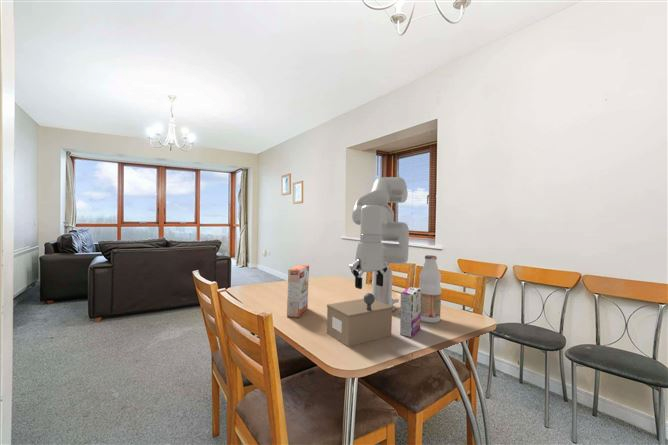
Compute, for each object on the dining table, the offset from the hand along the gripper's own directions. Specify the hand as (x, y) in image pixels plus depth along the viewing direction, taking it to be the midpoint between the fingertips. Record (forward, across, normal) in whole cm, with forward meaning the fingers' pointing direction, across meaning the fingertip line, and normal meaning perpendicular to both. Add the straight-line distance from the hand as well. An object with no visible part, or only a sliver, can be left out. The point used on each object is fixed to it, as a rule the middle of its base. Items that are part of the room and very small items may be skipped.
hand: (369, 286), depth 109 cm
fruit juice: (+19, -38, -4) cm, 42 cm away
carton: (+19, -1, -6) cm, 20 cm away
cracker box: (+19, +8, -40) cm, 45 cm away
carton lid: (+9, 0, -6) cm, 11 cm away
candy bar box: (+19, -20, +2) cm, 28 cm away
